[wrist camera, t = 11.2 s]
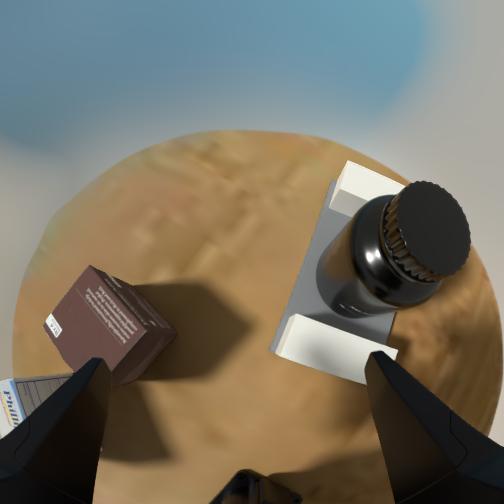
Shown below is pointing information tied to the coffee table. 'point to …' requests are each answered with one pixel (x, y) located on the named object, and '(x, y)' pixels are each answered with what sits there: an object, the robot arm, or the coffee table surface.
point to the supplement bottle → (394, 252)
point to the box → (108, 326)
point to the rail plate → (312, 305)
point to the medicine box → (25, 397)
